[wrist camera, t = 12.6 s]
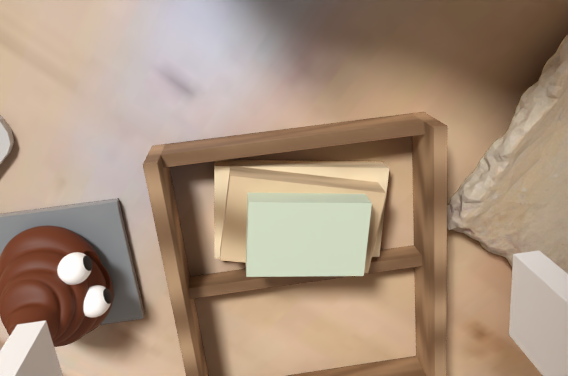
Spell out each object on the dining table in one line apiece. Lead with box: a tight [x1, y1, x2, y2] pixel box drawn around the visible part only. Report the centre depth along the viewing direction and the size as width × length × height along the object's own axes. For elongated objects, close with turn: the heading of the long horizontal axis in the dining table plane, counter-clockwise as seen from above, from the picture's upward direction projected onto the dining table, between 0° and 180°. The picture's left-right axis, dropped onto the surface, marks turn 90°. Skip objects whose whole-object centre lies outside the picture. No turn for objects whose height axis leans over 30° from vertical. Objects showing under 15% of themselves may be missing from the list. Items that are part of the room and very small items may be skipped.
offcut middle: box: [220, 166, 386, 273], centre depth 42 cm, size 7×12×2 cm, turn 81°
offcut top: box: [246, 192, 372, 277], centre depth 40 cm, size 6×9×2 cm, turn 87°
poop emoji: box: [0, 226, 114, 347], centre depth 40 cm, size 10×8×9 cm
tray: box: [143, 112, 447, 376], centre depth 44 cm, size 25×22×5 cm
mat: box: [0, 199, 145, 325], centre depth 44 cm, size 11×11×1 cm
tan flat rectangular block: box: [214, 160, 389, 258], centre depth 44 cm, size 8×14×2 cm, turn 88°
